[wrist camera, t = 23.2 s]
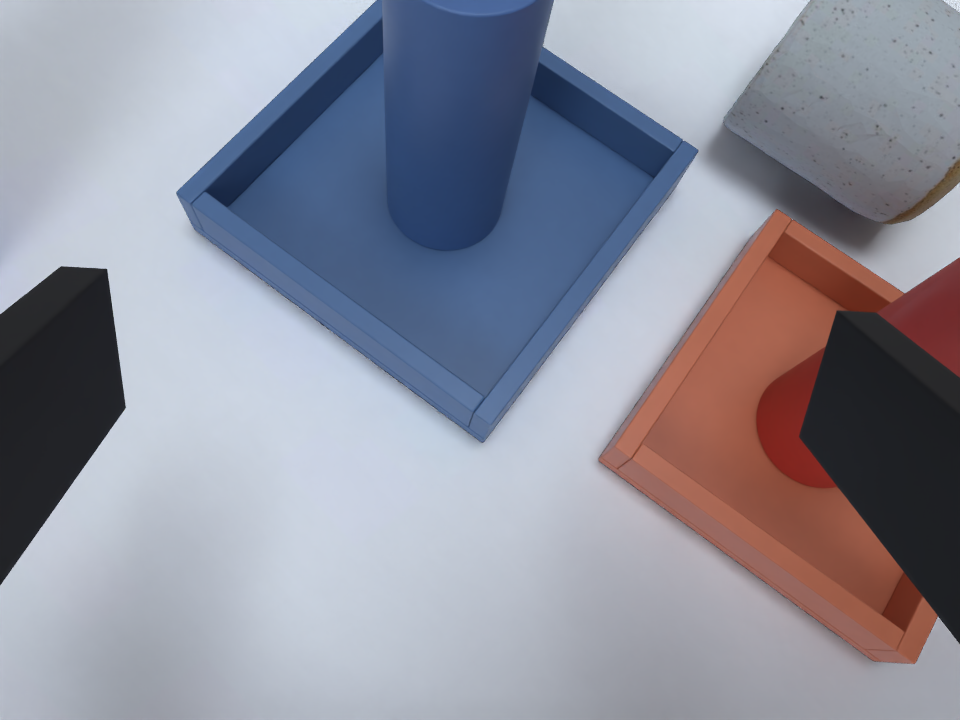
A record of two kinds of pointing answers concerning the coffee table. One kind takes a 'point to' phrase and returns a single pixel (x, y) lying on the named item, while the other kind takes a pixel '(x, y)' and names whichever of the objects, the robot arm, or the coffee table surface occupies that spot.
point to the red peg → (781, 411)
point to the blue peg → (455, 111)
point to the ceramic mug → (863, 104)
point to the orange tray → (741, 457)
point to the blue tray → (418, 269)
